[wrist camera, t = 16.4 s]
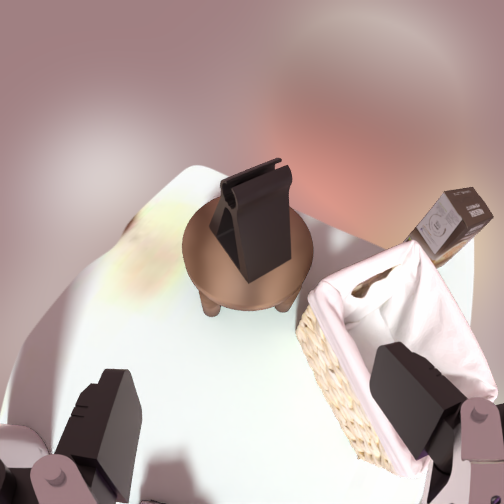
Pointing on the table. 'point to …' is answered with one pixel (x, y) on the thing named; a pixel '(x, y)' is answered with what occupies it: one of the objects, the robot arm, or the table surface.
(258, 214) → the phone stand
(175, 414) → the table surface
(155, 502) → the geode
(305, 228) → the stool
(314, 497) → the table surface
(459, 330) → the storage basket
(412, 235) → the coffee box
